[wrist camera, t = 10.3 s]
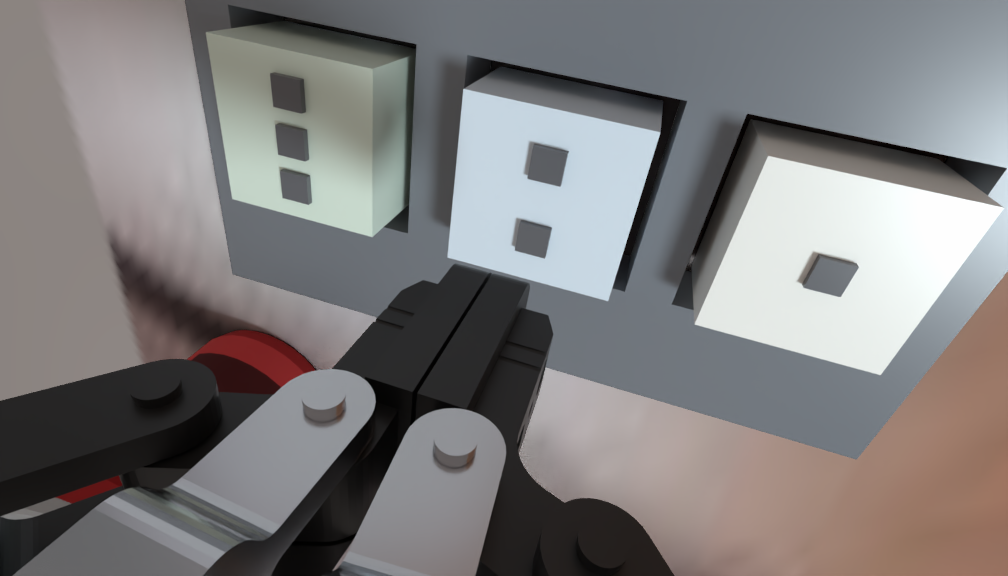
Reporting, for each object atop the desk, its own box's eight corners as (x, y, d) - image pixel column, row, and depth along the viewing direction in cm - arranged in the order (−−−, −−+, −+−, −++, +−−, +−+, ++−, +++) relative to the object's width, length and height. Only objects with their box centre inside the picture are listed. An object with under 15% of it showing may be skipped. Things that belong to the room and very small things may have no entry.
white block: (425, 50, 16) (368, 70, 13) (417, 196, 19) (369, 239, 16) (284, 20, 17) (200, 33, 14) (295, 165, 20) (227, 201, 17)
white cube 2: (663, 100, 15) (660, 134, 12) (618, 247, 18) (607, 304, 15) (501, 66, 16) (460, 90, 13) (482, 212, 19) (444, 260, 16)
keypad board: (1140, -18, 12) (1236, -14, 10) (837, 407, 20) (856, 459, 18) (222, -162, 16) (153, -181, 14) (271, 247, 23) (232, 274, 21)
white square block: (938, 158, 14) (1009, 211, 11) (845, 306, 17) (882, 379, 14) (750, 119, 15) (769, 158, 12) (691, 266, 18) (694, 328, 15)
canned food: (251, 436, 32) (82, 625, 23) (184, 327, 28) (-49, 500, 19) (358, 441, 29) (215, 657, 20) (299, 321, 25) (91, 518, 16)
